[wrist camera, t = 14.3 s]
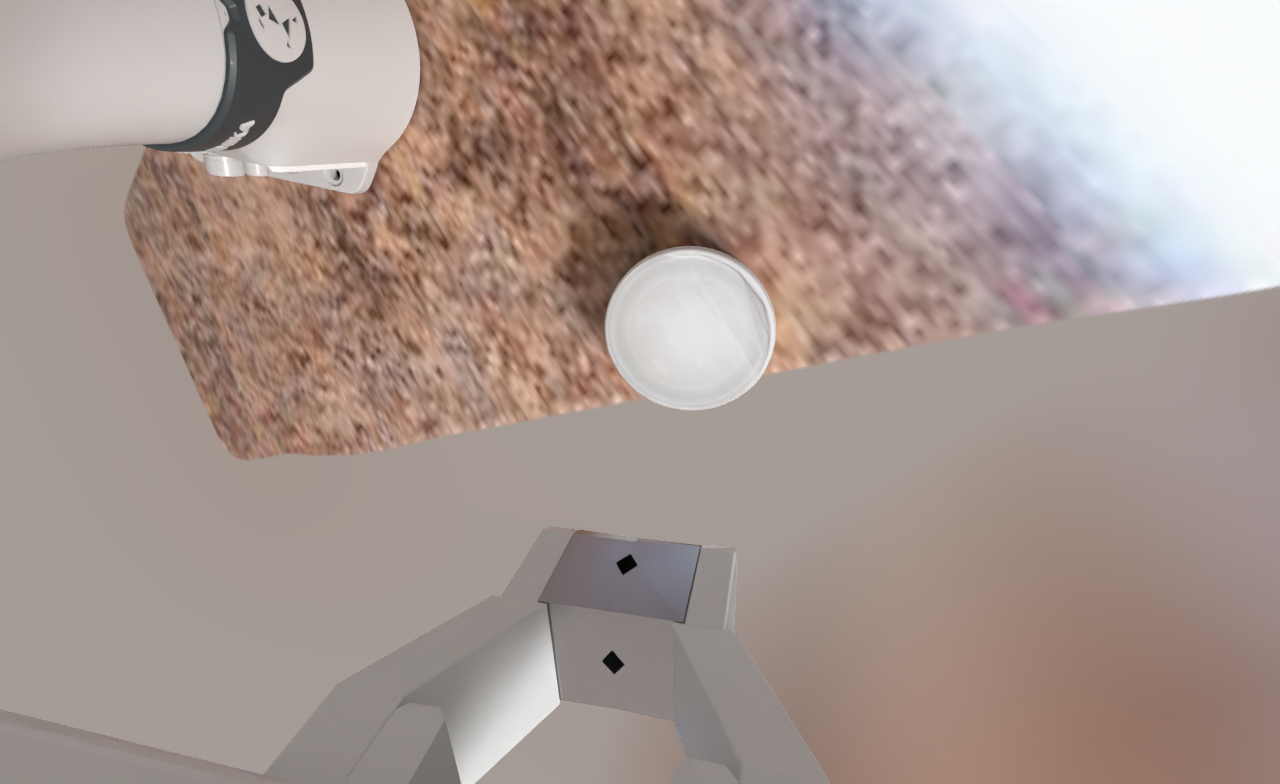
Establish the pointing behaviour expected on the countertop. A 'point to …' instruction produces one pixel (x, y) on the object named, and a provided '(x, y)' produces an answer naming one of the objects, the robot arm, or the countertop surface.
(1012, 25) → the countertop surface
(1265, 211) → the countertop surface
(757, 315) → the ramekin
